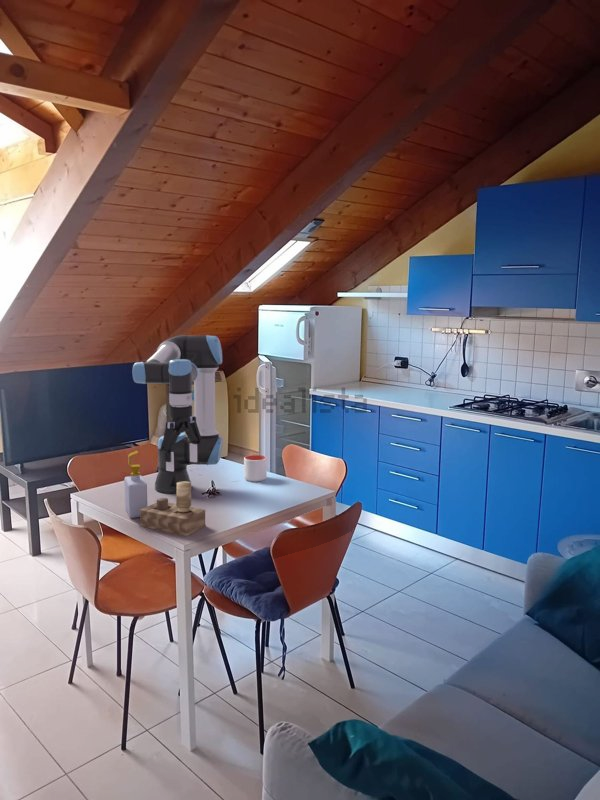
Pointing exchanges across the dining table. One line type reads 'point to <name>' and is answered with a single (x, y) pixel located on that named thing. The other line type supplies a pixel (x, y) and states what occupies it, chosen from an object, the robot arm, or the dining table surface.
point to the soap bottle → (135, 491)
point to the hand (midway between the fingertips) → (182, 466)
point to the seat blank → (171, 518)
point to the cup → (255, 468)
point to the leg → (183, 497)
